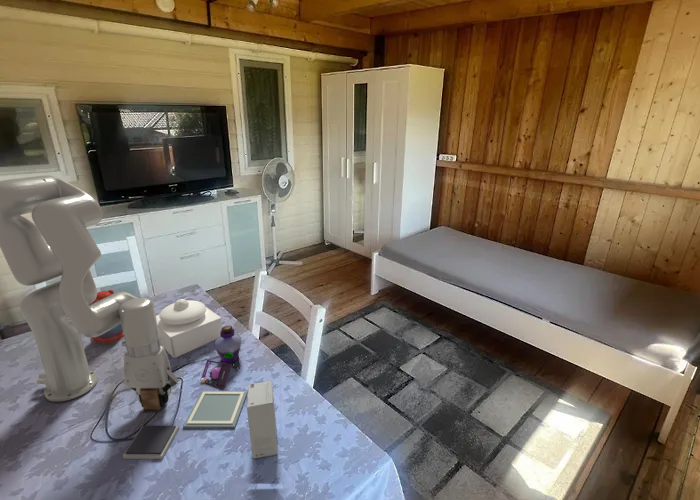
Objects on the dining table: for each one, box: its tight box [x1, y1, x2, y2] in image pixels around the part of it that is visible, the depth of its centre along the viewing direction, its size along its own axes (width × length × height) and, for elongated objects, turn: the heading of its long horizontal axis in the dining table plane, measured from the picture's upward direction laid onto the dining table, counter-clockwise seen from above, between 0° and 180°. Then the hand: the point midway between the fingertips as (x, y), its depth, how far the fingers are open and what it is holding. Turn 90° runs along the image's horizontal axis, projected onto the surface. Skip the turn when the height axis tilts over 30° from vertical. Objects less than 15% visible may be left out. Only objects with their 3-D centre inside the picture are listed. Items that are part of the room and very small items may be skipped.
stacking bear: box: [91, 289, 124, 344], centre depth 129 cm, size 11×10×18 cm
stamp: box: [140, 388, 168, 413], centre depth 99 cm, size 4×4×7 cm
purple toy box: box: [200, 359, 232, 389], centre depth 111 cm, size 7×5×9 cm
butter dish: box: [156, 298, 223, 359], centre depth 129 cm, size 18×18×16 cm
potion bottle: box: [214, 325, 242, 364], centre depth 118 cm, size 9×9×12 cm
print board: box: [182, 390, 248, 429], centre depth 99 cm, size 13×13×1 cm
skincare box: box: [246, 380, 278, 459], centre depth 87 cm, size 8×6×15 cm
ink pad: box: [122, 424, 180, 460], centre depth 89 cm, size 9×9×1 cm
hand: (155, 402), depth 100 cm, fingers closed on stamp, 4 cm apart
